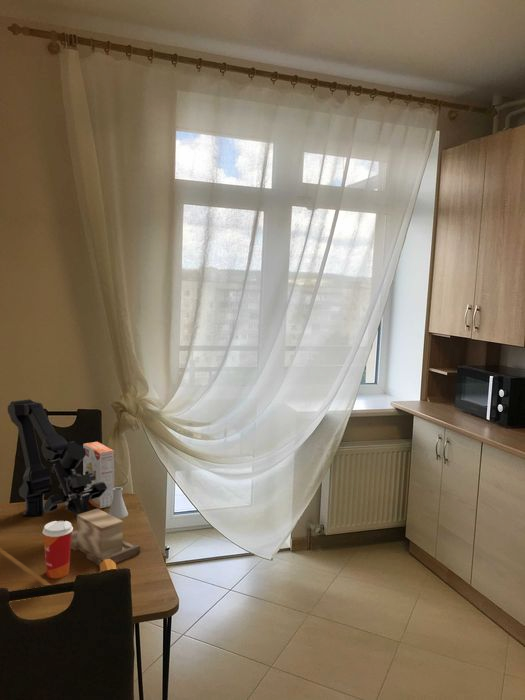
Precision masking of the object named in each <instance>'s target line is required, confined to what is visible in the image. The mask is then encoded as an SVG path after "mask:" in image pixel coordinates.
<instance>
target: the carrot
mask: <svg viewBox="0 0 525 700" xmlns="http://www.w3.org/2000/svg"><path fill="white" fill-rule="evenodd" d="M110 569H117V563H115V562H113V561H112V560H111V559H106V560H104V561H103V562H102V563H101V564H100V566H99V572H100V571H104V570H110ZM117 570H118V569H117Z"/></svg>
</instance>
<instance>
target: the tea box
mask: <svg viewBox="0 0 525 700" xmlns="http://www.w3.org/2000/svg"><path fill="white" fill-rule="evenodd" d="M108 513H109V512H108ZM108 513H107V512H106V511H103V510H102V509H101V508H100V509H99V508H98V507H96V508H94V509H92V510H88V512H84V513H81V514H78V515H76V530H77V545H79V546H81V547H82V548H84V549H86V550H87V551H89V552H91V553H92V554H94V555H96V556H97V557H99V558H101V559H102V558H104V557H107V556H109V555H112V554H115V553H117V552H120V551H122V549H123V540H124V539H123V536H124V535H123V532H124V531H123V530H124V521H123V520H122V519H118V518H116V517H114V516H112V515H110V514H108Z"/></svg>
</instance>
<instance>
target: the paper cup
mask: <svg viewBox="0 0 525 700" xmlns="http://www.w3.org/2000/svg"><path fill="white" fill-rule="evenodd" d="M73 531H74V527H73V525H72V523H71V522H70V521H68V520H65V521H64V520H58V521H57V520H54V521H53V520H52V521H50V522H48V523H46V524H45V525H44V526H43V530H42V531H41V532H42V535H43V542H44V544H43V545H44V557H45V558H44V559H45V570H46V571H45V572H46V576H47V577H48V578H50V579H61V578H63V577H65V576H67V575H69V573H70V566H71V564H70V563H71V550H72V549H71V535H72V532H73Z"/></svg>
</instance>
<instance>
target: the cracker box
mask: <svg viewBox="0 0 525 700" xmlns="http://www.w3.org/2000/svg"><path fill="white" fill-rule="evenodd" d="M82 447H83V448H84V449H85V451H86V455H85V457H84V458H83V460H82V465H83V466H82V467H83V468H82V470H83V471H82V475H85V472H87V471H90V470H93V472H94V473H95V476H96V479H95V480H93V481H92V484H87V488H85V489H84V490H88V489H90V487H91V486H92V485H93V484H96V483H100V482H104V483H105V484H106V486H107V489H106V491H105V492H104V493H103V494H102V496H100V497H98V498H95V499H89V503H88V504H91V505H92V506H93V507H95V508H98V509H100V510H101V509H105V508H108V507H109V508H110V507H111V504H112V501H113V496H114V491H113V488H115V450H113V449H111V448H110V447H107V446H106V445H104V444H103V443H101V442H99V441H94V442H86V443H83V445H82Z"/></svg>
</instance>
